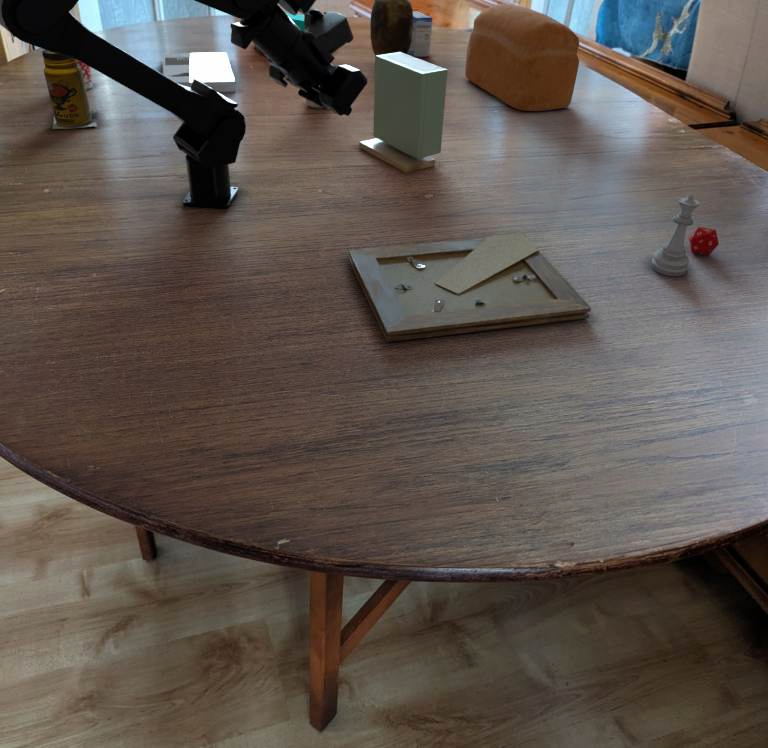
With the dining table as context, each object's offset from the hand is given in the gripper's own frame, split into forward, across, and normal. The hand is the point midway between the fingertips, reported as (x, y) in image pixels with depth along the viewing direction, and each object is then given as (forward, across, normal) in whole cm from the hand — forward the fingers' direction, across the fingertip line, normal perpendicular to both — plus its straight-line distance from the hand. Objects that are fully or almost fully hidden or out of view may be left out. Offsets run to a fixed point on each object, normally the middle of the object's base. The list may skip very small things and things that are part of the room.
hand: (349, 112), depth 111 cm
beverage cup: (-10, +62, +22) cm, 67 cm away
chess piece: (+18, -49, -5) cm, 53 cm away
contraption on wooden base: (+28, +71, -16) cm, 78 cm away
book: (+7, +58, +6) cm, 59 cm away
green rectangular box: (+13, 0, -3) cm, 14 cm away
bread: (+44, +17, -32) cm, 57 cm away
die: (+23, -49, -11) cm, 55 cm away
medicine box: (+45, +53, -33) cm, 77 cm away
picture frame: (-1, -39, +13) cm, 41 cm away
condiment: (-15, +42, +27) cm, 52 cm away
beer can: (+15, +29, -3) cm, 33 cm away
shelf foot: (+13, 0, -1) cm, 13 cm away
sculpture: (+36, +46, -23) cm, 63 cm away
